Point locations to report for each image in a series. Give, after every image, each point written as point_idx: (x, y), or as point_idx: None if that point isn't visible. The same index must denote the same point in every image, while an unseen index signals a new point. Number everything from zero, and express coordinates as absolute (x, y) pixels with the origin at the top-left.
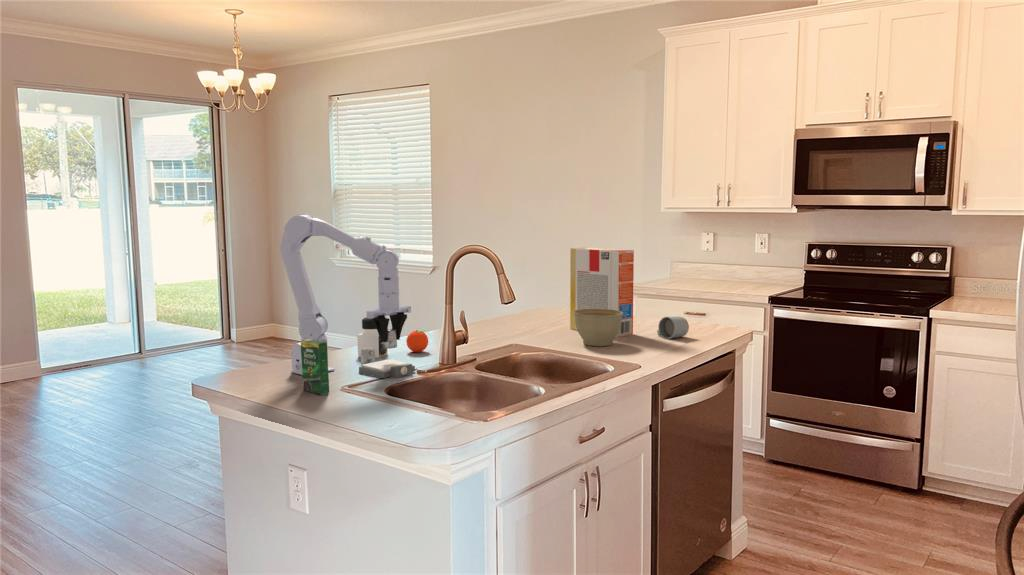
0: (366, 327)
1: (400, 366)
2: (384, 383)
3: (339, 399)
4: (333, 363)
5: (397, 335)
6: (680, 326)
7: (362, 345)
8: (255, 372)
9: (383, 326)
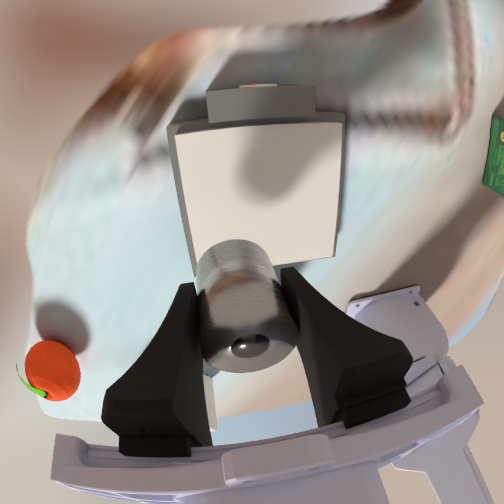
0: None
1: (280, 88)
2: (373, 58)
3: (500, 60)
4: (293, 359)
5: (193, 303)
6: None
7: (206, 400)
8: None
9: (362, 324)
